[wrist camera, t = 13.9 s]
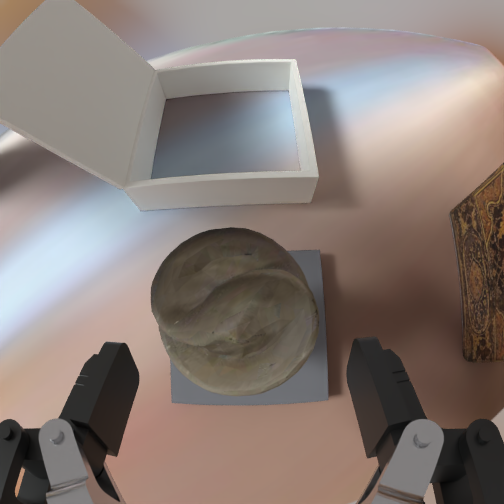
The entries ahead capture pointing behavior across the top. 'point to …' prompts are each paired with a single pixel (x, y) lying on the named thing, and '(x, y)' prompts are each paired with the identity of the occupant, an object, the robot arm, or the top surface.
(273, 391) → the mat
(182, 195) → the box
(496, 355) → the book
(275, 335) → the twisted stone column
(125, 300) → the top surface
